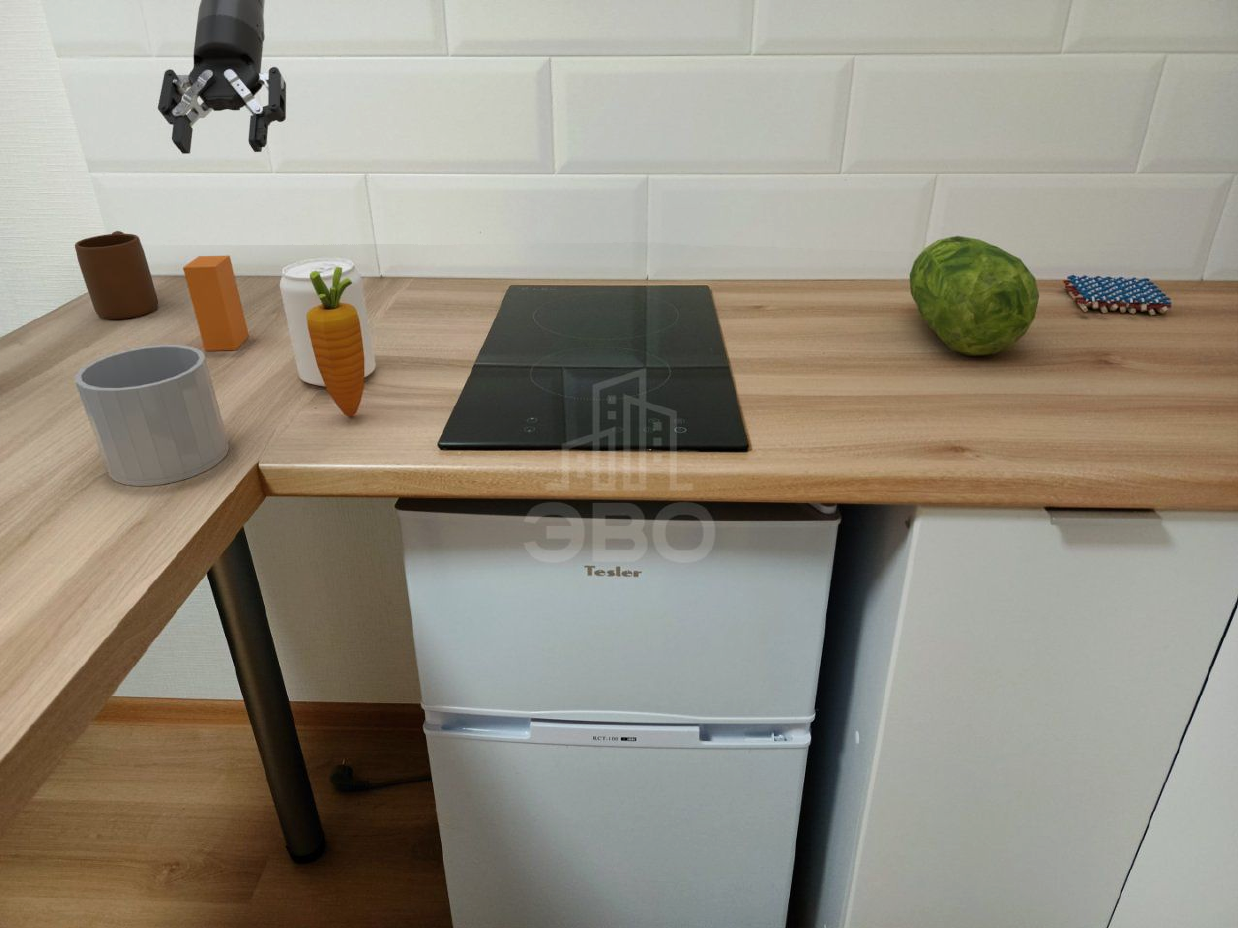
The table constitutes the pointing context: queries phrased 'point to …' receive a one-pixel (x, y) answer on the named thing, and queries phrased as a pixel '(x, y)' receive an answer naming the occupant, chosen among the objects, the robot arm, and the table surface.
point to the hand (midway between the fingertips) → (218, 149)
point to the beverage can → (304, 297)
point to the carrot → (337, 343)
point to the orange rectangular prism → (216, 302)
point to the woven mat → (1116, 294)
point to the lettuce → (973, 295)
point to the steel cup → (153, 414)
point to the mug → (117, 275)
